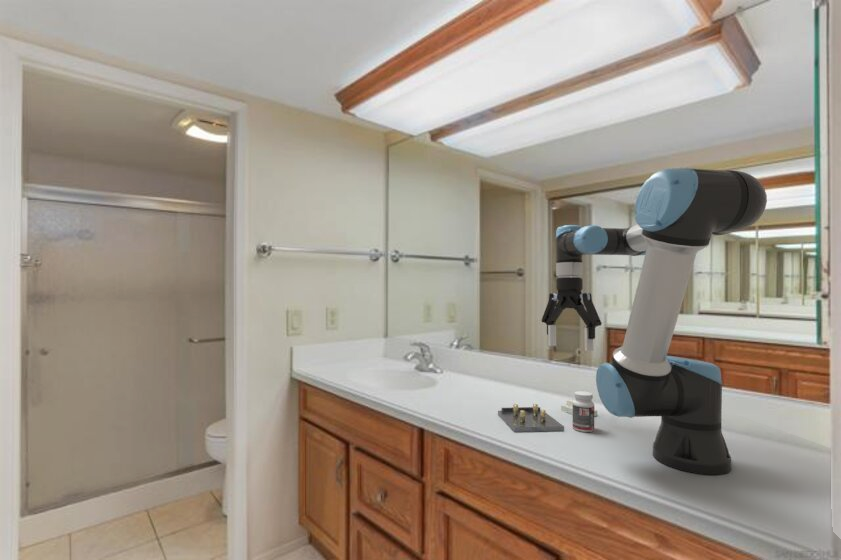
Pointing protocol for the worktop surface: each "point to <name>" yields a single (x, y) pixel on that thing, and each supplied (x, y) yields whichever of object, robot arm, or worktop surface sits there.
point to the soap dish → (571, 407)
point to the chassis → (529, 419)
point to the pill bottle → (583, 412)
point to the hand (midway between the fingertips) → (569, 348)
